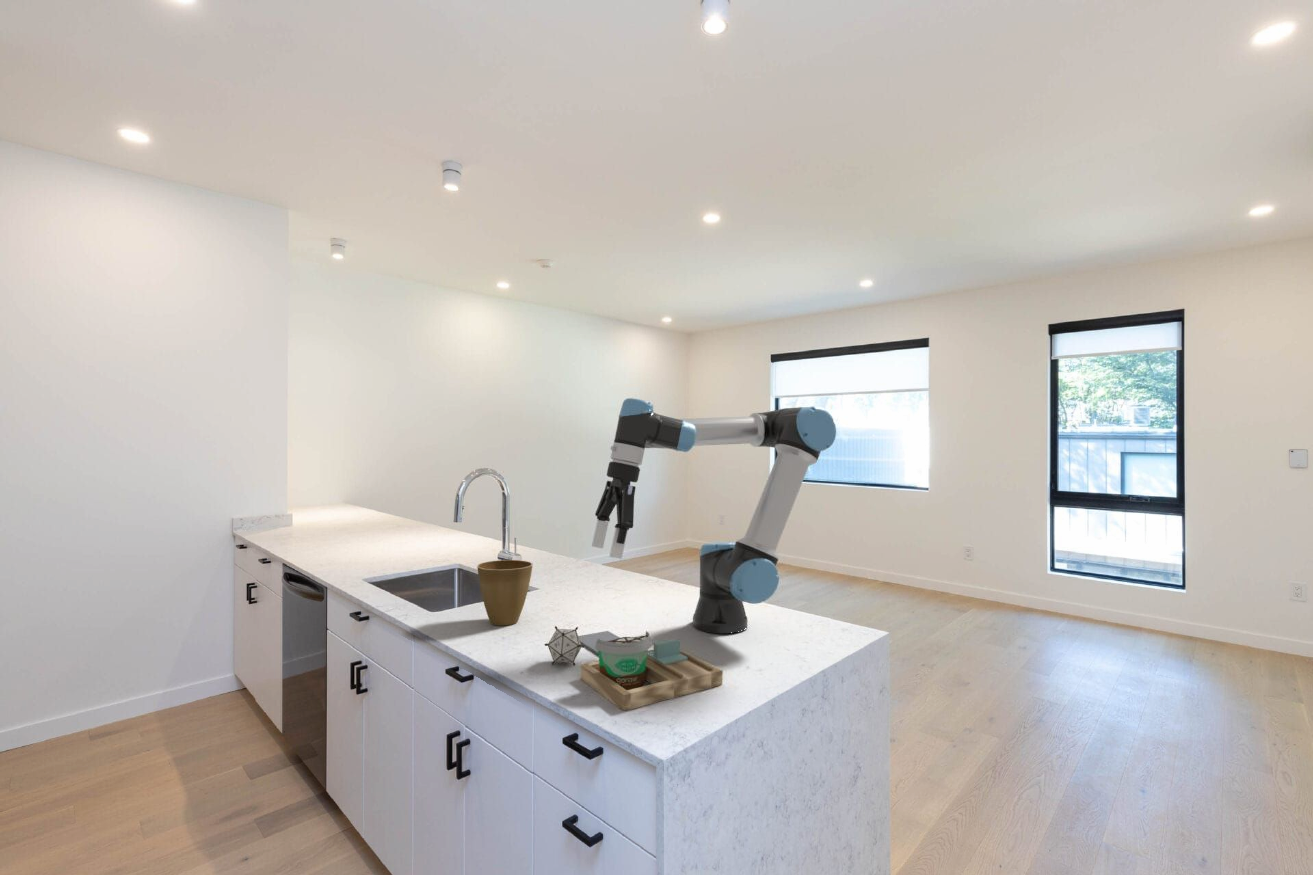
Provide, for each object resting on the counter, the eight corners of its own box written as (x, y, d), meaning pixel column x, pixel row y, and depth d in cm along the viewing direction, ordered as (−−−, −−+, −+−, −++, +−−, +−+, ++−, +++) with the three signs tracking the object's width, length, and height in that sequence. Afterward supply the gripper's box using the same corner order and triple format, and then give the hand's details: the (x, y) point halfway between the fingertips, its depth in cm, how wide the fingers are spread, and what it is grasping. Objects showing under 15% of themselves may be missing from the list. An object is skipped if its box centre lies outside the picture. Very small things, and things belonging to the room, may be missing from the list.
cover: (669, 650, 138) (670, 634, 138) (687, 659, 132) (688, 643, 132) (645, 655, 134) (645, 639, 134) (662, 665, 128) (663, 648, 128)
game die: (566, 682, 135) (561, 656, 129) (540, 661, 139) (534, 635, 133) (593, 655, 140) (590, 628, 134) (567, 635, 145) (563, 609, 139)
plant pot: (542, 620, 169) (543, 563, 169) (502, 633, 157) (504, 572, 157) (505, 611, 177) (506, 556, 177) (464, 623, 165) (465, 564, 165)
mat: (607, 632, 159) (607, 630, 159) (640, 651, 146) (640, 648, 146) (573, 639, 153) (573, 636, 153) (603, 658, 140) (603, 655, 140)
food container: (606, 698, 118) (607, 647, 118) (594, 687, 124) (595, 638, 124) (661, 687, 124) (662, 639, 124) (647, 677, 129) (648, 630, 130)
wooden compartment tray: (672, 658, 141) (673, 642, 141) (722, 684, 126) (722, 667, 126) (580, 678, 128) (580, 661, 128) (623, 710, 113) (624, 691, 113)
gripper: (594, 458, 153) (576, 541, 151) (629, 462, 130) (607, 559, 128) (621, 464, 156) (604, 545, 154) (660, 469, 133) (639, 564, 131)
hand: (605, 552), depth 141 cm, fingers open, 13 cm apart
